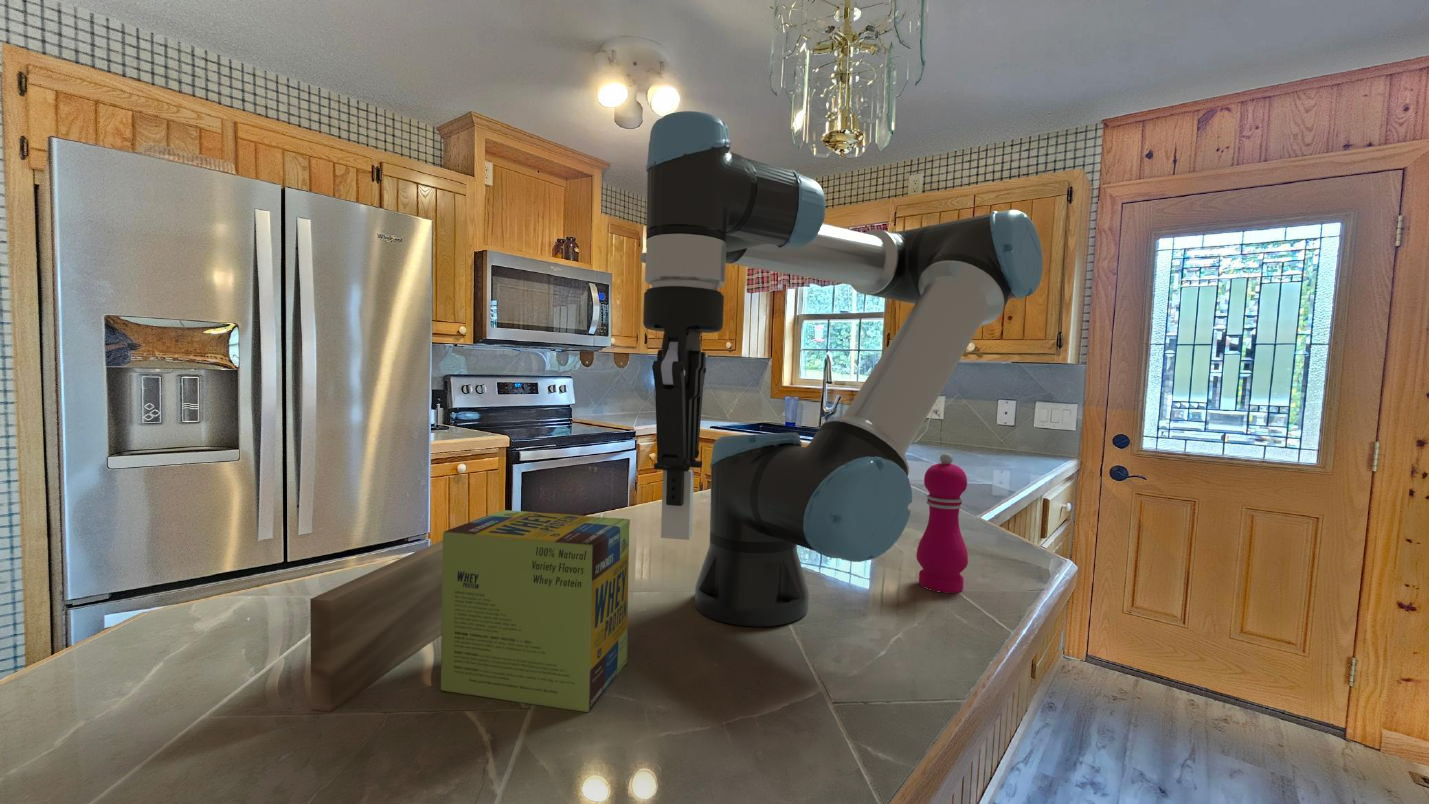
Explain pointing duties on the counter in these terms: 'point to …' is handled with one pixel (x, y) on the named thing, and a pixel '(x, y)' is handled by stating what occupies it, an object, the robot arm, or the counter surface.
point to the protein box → (535, 607)
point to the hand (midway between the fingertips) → (676, 536)
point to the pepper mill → (943, 529)
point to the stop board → (373, 625)
